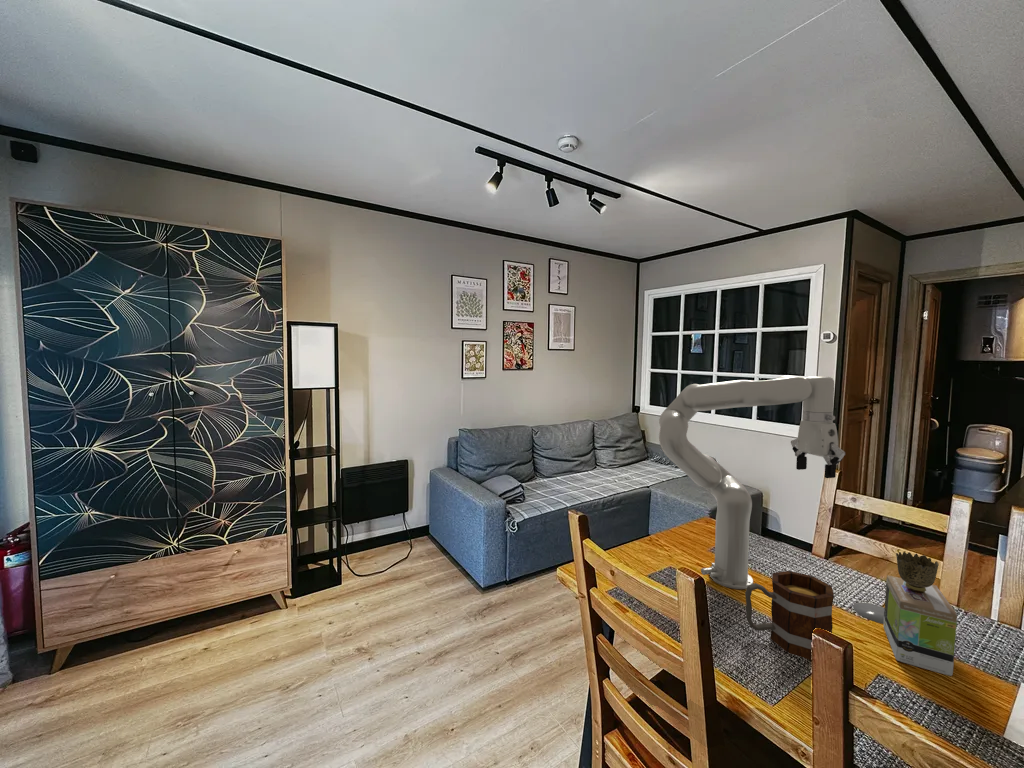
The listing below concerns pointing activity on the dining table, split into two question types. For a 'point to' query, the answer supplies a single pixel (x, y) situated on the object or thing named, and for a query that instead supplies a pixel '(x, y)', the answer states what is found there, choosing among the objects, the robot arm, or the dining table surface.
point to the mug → (795, 610)
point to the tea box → (920, 626)
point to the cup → (916, 571)
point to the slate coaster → (870, 611)
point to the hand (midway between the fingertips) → (815, 473)
